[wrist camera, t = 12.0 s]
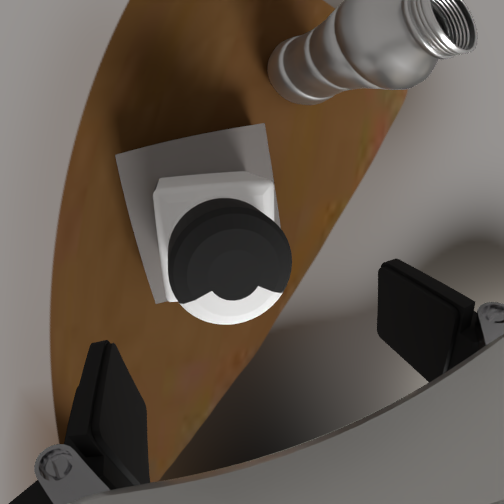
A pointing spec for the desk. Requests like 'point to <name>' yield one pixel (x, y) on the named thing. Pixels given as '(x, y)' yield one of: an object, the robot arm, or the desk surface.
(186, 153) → the base block
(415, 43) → the plastic bottle
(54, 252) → the desk surface
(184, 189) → the medicine bottle
